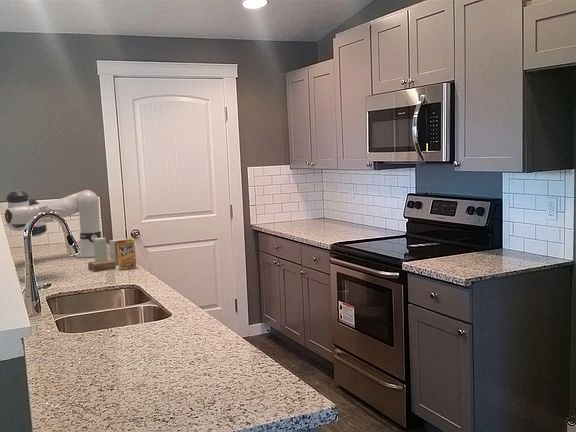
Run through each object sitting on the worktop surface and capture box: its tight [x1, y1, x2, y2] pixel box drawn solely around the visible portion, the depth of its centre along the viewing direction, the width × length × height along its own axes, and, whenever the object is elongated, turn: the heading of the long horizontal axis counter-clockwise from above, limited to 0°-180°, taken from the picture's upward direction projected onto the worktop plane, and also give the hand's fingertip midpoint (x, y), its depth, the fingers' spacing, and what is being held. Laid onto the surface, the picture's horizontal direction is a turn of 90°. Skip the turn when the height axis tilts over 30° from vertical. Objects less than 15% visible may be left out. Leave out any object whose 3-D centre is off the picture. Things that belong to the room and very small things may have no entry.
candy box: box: [117, 238, 137, 271], centre depth 306 cm, size 9×4×15 cm, turn 107°
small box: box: [108, 238, 123, 266], centre depth 323 cm, size 8×6×13 cm
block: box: [93, 237, 108, 263], centre depth 308 cm, size 5×5×12 cm
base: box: [87, 258, 117, 273], centre depth 309 cm, size 10×11×4 cm
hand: (70, 210), depth 299 cm, fingers open, 8 cm apart
